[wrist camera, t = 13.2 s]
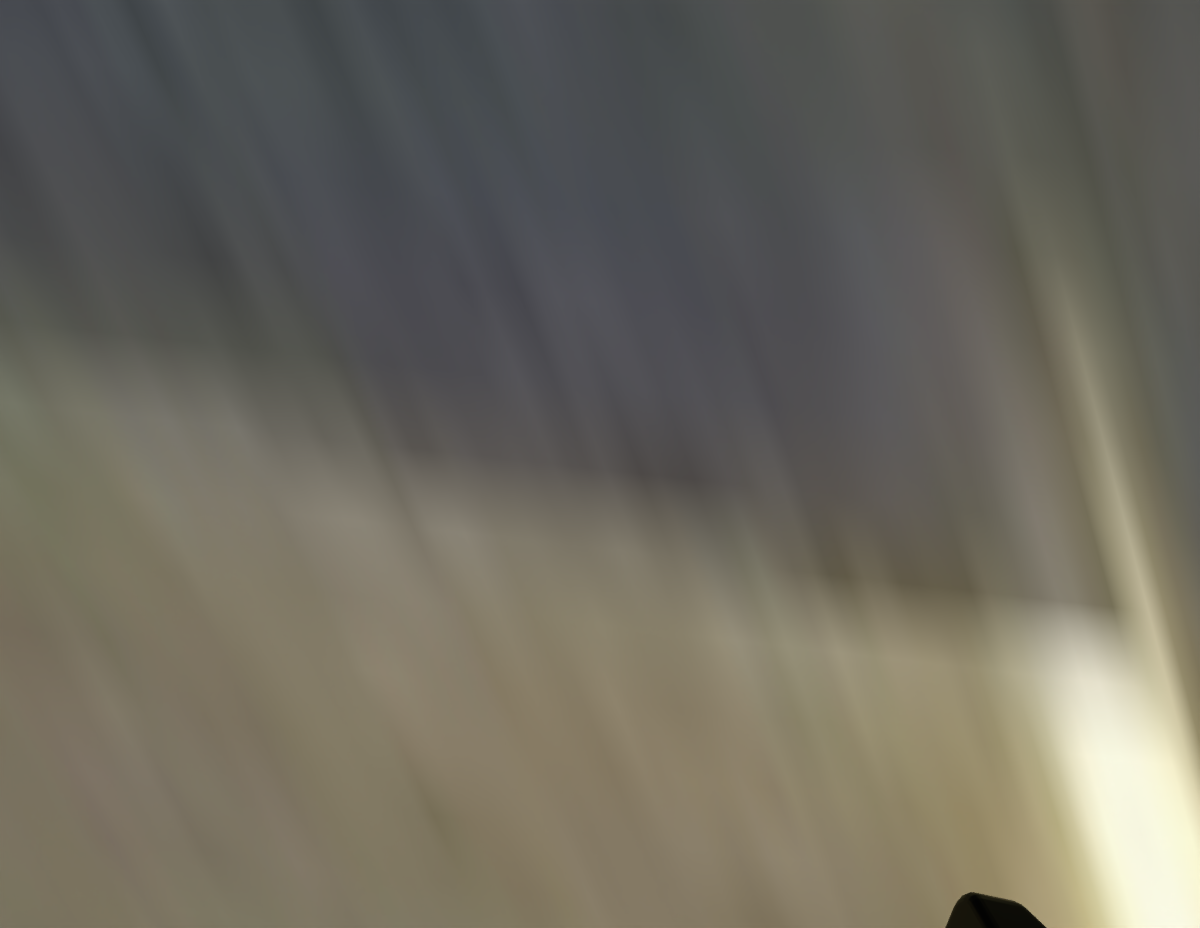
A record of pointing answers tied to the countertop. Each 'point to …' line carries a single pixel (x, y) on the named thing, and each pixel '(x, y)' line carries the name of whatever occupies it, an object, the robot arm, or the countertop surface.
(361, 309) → the countertop surface
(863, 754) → the countertop surface
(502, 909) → the countertop surface
